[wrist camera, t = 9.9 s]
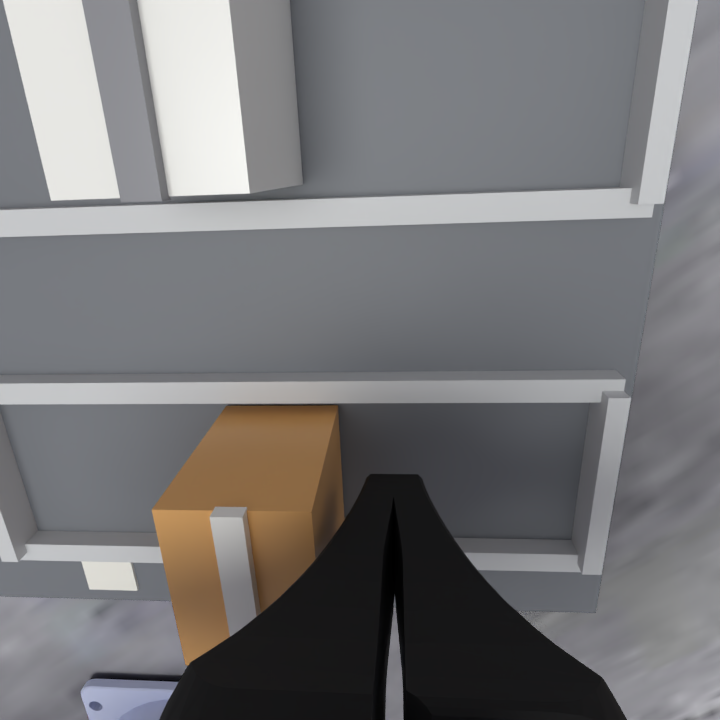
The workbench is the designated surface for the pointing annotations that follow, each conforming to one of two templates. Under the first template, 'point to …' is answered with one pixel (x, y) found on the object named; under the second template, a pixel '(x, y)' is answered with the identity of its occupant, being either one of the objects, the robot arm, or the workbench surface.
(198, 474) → the fader orange
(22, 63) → the fader white
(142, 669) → the workbench surface
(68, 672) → the workbench surface
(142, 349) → the plate
